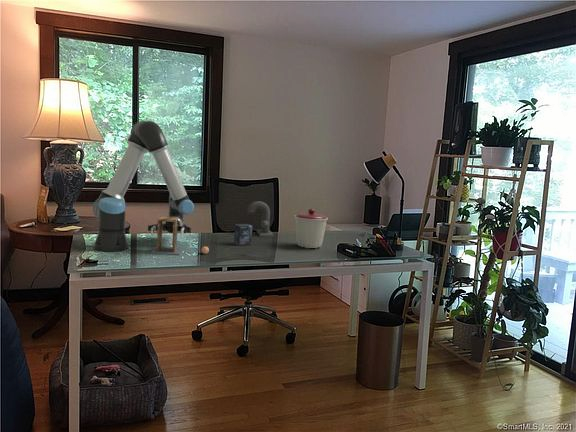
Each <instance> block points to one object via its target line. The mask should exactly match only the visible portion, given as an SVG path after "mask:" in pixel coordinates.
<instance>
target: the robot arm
mask: <svg viewBox="0 0 576 432" xmlns="http://www.w3.org/2000/svg"><path fill="white" fill-rule="evenodd" d="M126 142H127V145H128V146H127V148H126V150H125V152H124V154H123V156H122V158H121V160H120V162H119V164H118V166H117V168H116V170H115V171H114V174H113V176H112V178H111V180H110V182H109V184H108V186H107V188H106V189H103V190H102V191H101V192H100V195H99V197H98V198H96V199H95V201H94V202H93V204H92V212H93V214H94V216H95V218H96V219H97V220H98V233H97V236H96V238H95V241H94V250H96V251H101V252H121V251H126V250H128V249H129V241H128V238H127V235H126V210H127V209H126V207H127V206H126V201H125V198H124V197H125V194H126V192H127V190H128V189H129V186H130V184H131V182H132V180H133V179H134V177H135V174H136V172H137V170H138V168H139V167H140V166H139V165H140V164H141V162H142V160H143V158H144V156H145V154H148V153H149V154H152V156H153V158H154V160H155V163H156V165H157V167H158V170H159V172H160V174H161V176H162V178H163V180H164V183H165V185H166V188H167V189H168V192H169V196H168V197H169V198H168V217H178V221H177V232H180V236H182V237H183V235H184V234H186V233H188V234H191V232H192V228H191V227H189V226H188V225H187V224H184V223H185V218H184V215H185V216H188V215H190V214H192V213H193V211H194V210H195V205H194V203H193V201H192V200H190V197H189V196H188V194H187V191H186V188H185V186H184V184H183V182H182V180H181V177H180V175H179V172H178V170H177V168H176V165H175V164H174V161H173V158H172V156H171V153H170V152H169V149H168V146H169V144H168V141H167V139H166V137H165V135H164V132H163V130H162V128H161V127H160V125H159V124H158V123H156V122H154V121H152V120H141V121H140V120H139V121H138V122H136V123H134V124H133V125H132V126H131V129H130V134H129V136H128V139H127V140H126ZM147 231H148V232H151V234H150V235H154V234H155V233H156V232H157V231H158V223H156V224H150V225H149V224H148V225H147ZM162 232H167V233H169V234H173V222H166V221H165V222H164V223H163V224H162Z"/></svg>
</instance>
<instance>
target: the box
mask: <svg viewBox="0 0 576 432" xmlns="http://www.w3.org/2000/svg"><path fill="white" fill-rule="evenodd" d="M252 237H253V225H251V224H249V223H242V224H240V223H238V224H237V223H236V224H234V237H233V244H234V245H236V246H250V245H252Z"/></svg>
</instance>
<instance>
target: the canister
mask: <svg viewBox="0 0 576 432" xmlns="http://www.w3.org/2000/svg"><path fill="white" fill-rule="evenodd" d="M315 212H316V210H315V208H312V207H311V208H309V209H308V212H300V213H297V214H295V215H294V218H295V234H296V235H295V237H296V244H297V245H298V246H299V247H300V246H301V247H300V248H303V247H305V248H304V249H309V248H315V249H318V247H319V248H321V247H322V245H323V241H324V237H325V231H326V226H327V220H329V218H328V217H327V216H326V215H324V214H321V213H315Z"/></svg>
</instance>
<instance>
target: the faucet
mask: <svg viewBox="0 0 576 432" xmlns="http://www.w3.org/2000/svg"><path fill="white" fill-rule="evenodd" d="M258 209H259V210H261V211H262V217H261V221H260V226H261V228H260V229H259V228H258V229H256V233H257V235H258V234H259V235H258V236H259V238H275V234H273V232H272V231H271V230H270V222H271V221H270V220H271V219H270V218H271V210H270V207H269V205H268V204H267V203H266V202H263V201H260V200H259V201H254V202H252V203H250V205H248V208H247V211H246V212H247V213H248V214H252V213H253V214H254V213H255V211H256V210H258Z"/></svg>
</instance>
